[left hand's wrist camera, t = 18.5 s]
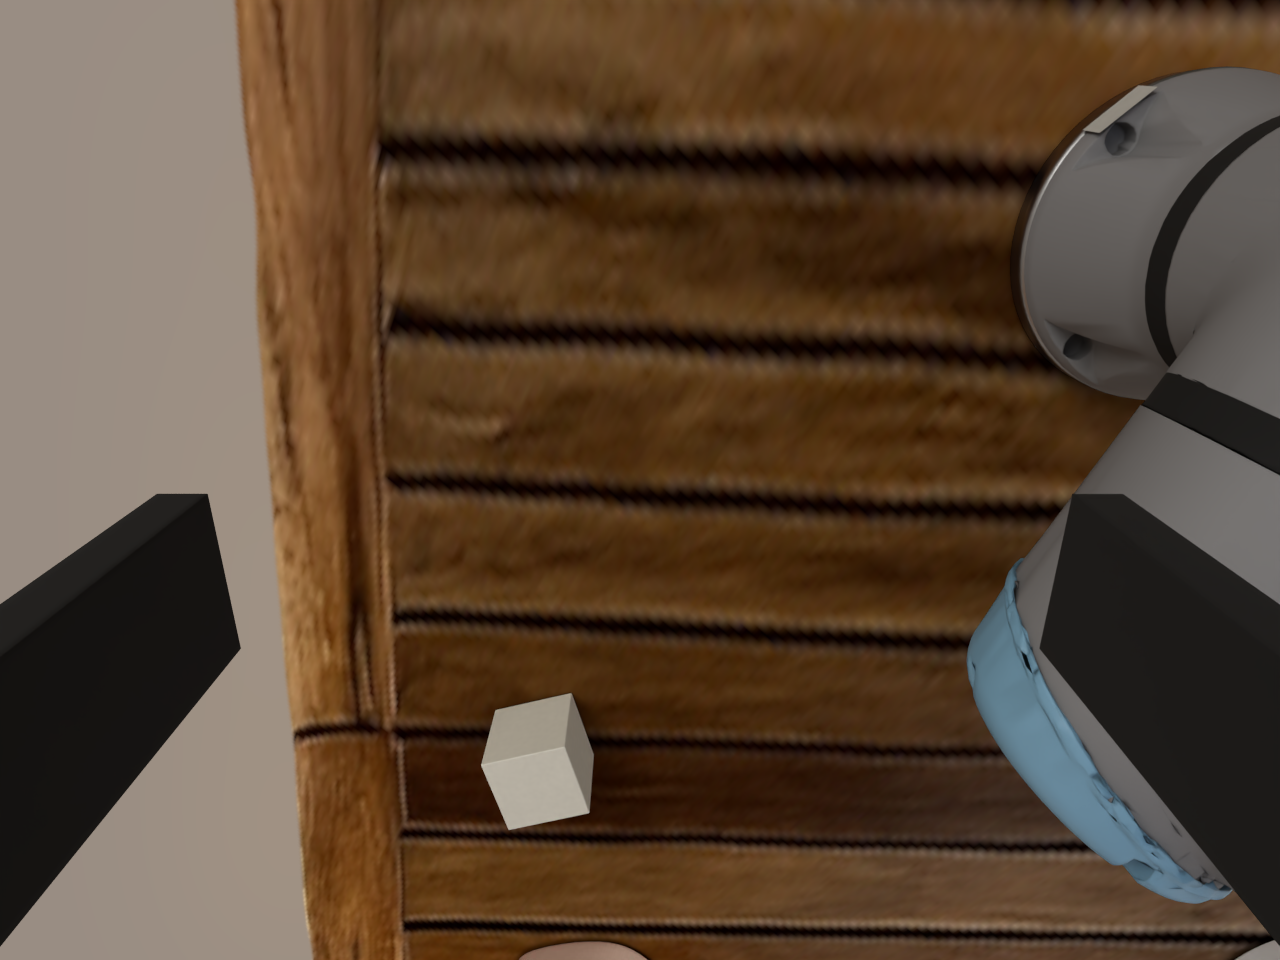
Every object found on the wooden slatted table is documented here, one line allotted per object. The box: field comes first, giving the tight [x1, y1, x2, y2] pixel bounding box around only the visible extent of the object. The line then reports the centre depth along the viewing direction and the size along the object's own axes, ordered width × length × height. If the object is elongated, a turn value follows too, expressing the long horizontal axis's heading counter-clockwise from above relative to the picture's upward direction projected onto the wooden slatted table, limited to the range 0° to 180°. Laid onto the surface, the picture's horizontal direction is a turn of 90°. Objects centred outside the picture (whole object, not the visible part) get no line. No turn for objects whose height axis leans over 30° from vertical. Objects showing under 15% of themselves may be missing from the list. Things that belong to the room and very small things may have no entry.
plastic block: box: [481, 693, 594, 830], centre depth 49 cm, size 5×5×5 cm
